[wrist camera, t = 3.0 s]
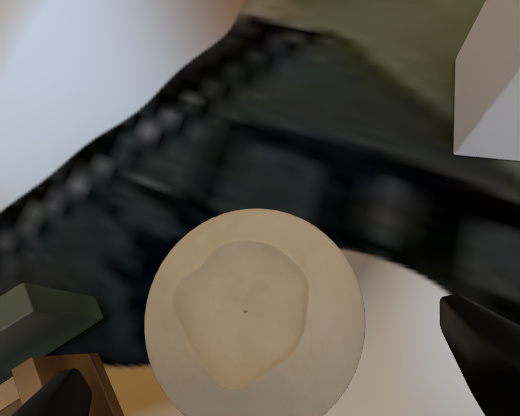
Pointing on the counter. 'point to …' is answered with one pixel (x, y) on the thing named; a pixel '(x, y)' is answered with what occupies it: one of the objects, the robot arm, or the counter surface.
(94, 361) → the drawer
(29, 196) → the counter surface
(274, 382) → the candle
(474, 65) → the milk
